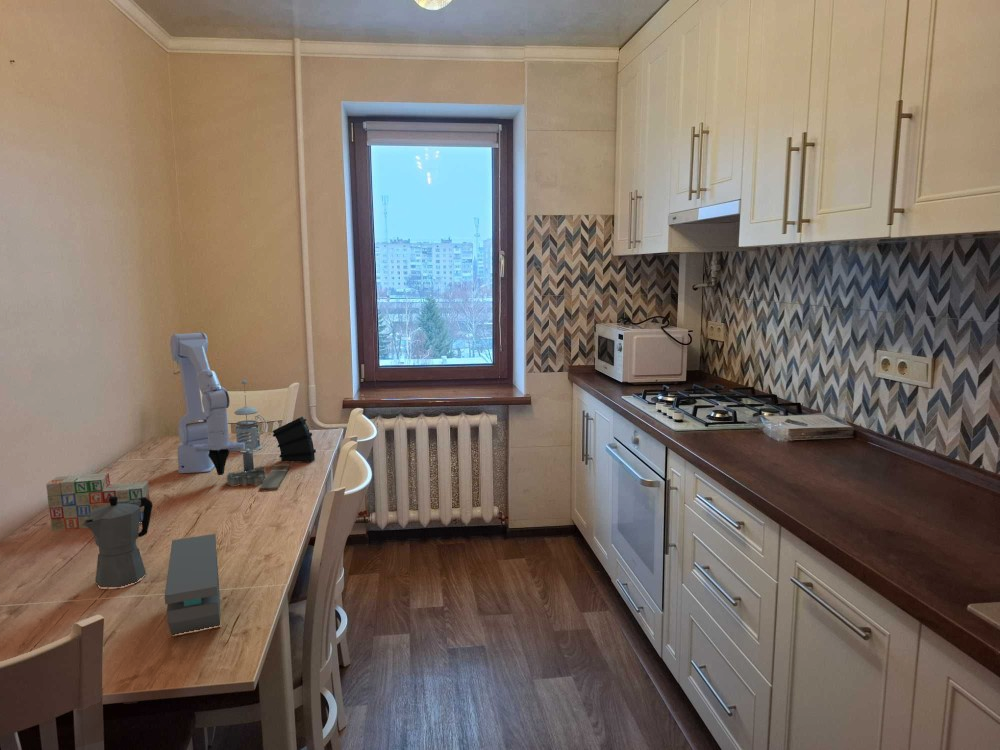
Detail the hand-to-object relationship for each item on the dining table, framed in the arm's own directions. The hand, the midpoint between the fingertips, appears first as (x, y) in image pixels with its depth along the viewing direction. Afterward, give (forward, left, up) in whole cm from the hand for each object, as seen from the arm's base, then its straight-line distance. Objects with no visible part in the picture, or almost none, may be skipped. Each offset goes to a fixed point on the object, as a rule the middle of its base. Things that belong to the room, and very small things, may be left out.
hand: (220, 474), depth 203 cm
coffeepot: (-3, -64, -3) cm, 64 cm away
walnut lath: (+16, +2, -3) cm, 16 cm away
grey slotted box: (+16, -84, -3) cm, 85 cm away
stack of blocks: (-22, -29, -3) cm, 37 cm away
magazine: (+19, +21, -3) cm, 28 cm away
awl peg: (+6, +12, -3) cm, 13 cm away
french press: (+1, +40, -3) cm, 40 cm away
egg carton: (+8, -1, -3) cm, 8 cm away
